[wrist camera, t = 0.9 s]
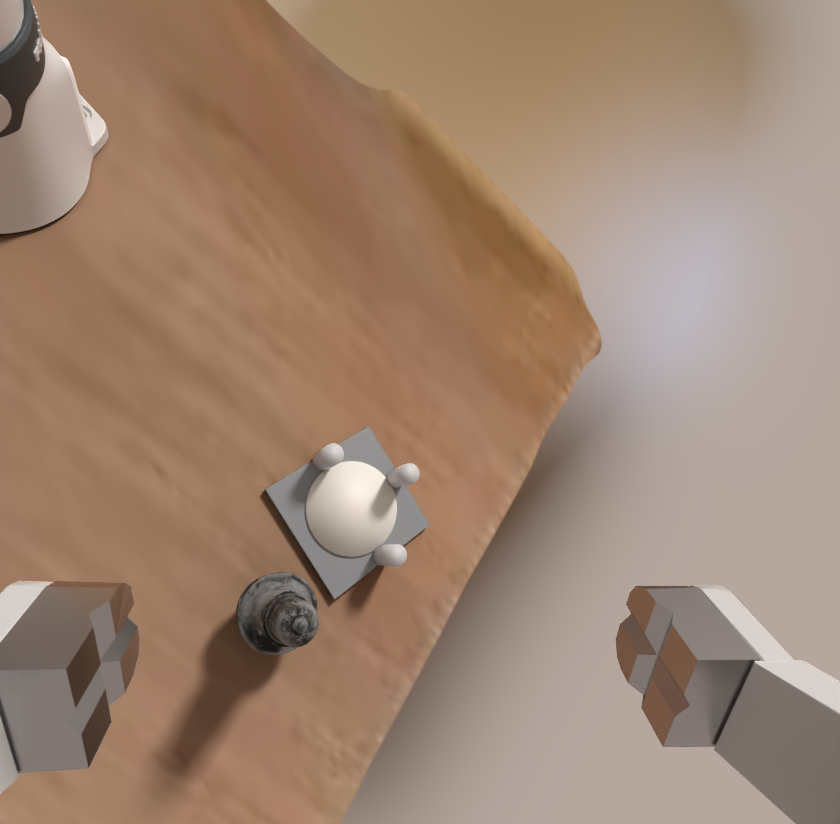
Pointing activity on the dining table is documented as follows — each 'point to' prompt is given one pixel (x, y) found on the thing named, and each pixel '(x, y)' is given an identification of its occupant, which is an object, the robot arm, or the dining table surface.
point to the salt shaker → (277, 613)
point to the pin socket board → (350, 510)
